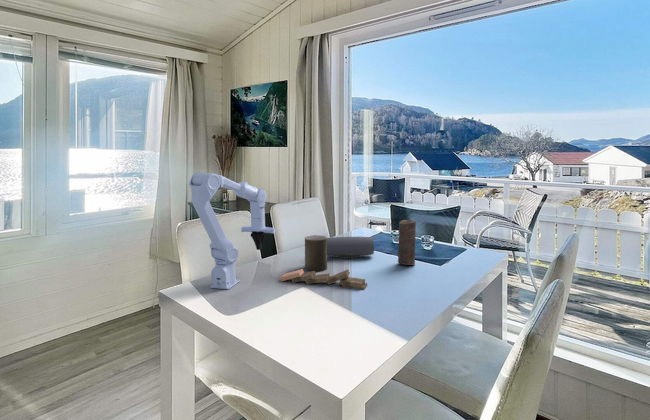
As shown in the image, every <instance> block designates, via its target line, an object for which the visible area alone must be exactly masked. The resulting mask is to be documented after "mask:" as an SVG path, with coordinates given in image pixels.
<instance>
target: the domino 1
mask: <svg viewBox="0 0 650 420" xmlns="http://www.w3.org/2000/svg"><path fill="white" fill-rule="evenodd" d="M303 273H305V271H304V269H303V268H301V269H297V270H294V271H290V272H289V271H288V272H286V273H283V274H282V275H281V276H280V277H279V279H280V282H284V281H287V280H288V281H289V280H291V279H292V278H296V277H300V276H301V275H302V274H303Z"/></svg>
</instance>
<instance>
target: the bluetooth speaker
mask: <svg viewBox="0 0 650 420" xmlns="http://www.w3.org/2000/svg"><path fill="white" fill-rule="evenodd" d="M373 255H375V245H374V237H371V236H336V237H335V236H334V237H327V257H337V258H338V259H359V258H360V257H364V256H373Z"/></svg>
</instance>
